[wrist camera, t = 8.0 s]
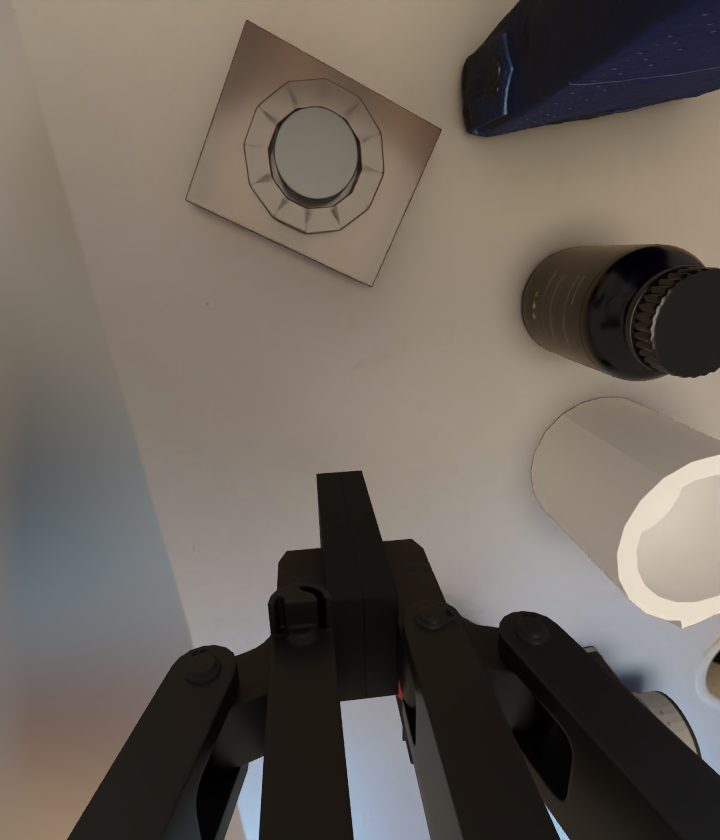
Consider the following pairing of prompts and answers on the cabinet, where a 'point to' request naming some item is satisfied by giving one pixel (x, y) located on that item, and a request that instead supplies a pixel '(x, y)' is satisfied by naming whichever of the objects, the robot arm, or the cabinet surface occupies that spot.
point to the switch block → (256, 170)
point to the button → (315, 154)
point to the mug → (638, 503)
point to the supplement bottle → (628, 310)
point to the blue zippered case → (589, 61)
